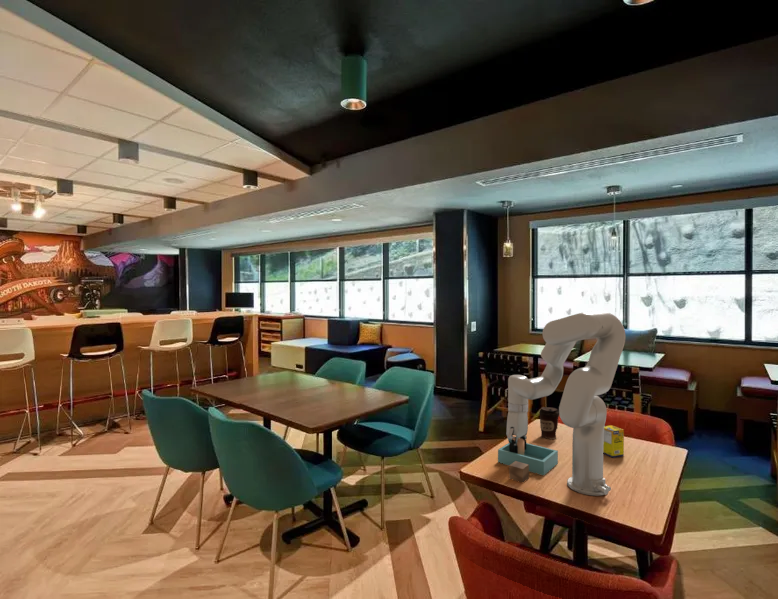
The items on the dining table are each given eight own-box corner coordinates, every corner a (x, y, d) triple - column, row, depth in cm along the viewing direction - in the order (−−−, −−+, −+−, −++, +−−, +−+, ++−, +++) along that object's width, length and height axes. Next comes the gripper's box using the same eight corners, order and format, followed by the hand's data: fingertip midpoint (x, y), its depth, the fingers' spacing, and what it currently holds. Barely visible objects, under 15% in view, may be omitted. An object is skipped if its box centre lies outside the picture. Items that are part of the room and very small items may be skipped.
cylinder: (527, 459, 165) (527, 441, 165) (516, 460, 163) (516, 442, 163) (519, 454, 170) (519, 437, 169) (508, 456, 168) (508, 438, 168)
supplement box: (624, 456, 170) (624, 429, 170) (612, 458, 168) (612, 431, 168) (611, 450, 176) (612, 424, 175) (600, 452, 174) (600, 426, 174)
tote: (557, 463, 163) (557, 450, 163) (543, 475, 153) (543, 461, 153) (513, 451, 175) (513, 439, 175) (497, 462, 165) (497, 449, 164)
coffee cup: (554, 441, 186) (554, 412, 186) (535, 437, 192) (536, 409, 192) (561, 436, 193) (561, 408, 193) (543, 432, 198) (543, 405, 198)
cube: (528, 478, 151) (528, 464, 151) (522, 483, 147) (522, 469, 147) (515, 474, 154) (515, 460, 154) (509, 479, 150) (509, 465, 150)
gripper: (518, 400, 175) (518, 443, 175) (498, 410, 162) (498, 455, 162) (536, 404, 170) (536, 447, 170) (517, 413, 157) (517, 461, 157)
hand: (517, 451), depth 166 cm, fingers open, 7 cm apart
